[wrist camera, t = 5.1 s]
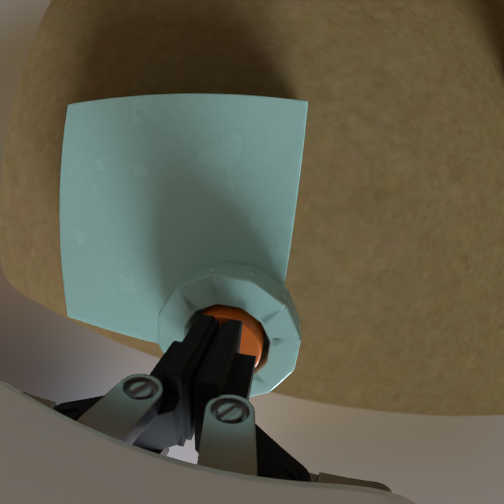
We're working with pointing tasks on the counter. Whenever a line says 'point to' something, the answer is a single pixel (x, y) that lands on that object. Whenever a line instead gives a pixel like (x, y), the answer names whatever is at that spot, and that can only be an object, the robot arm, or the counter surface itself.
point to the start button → (250, 329)
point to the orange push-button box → (183, 215)
